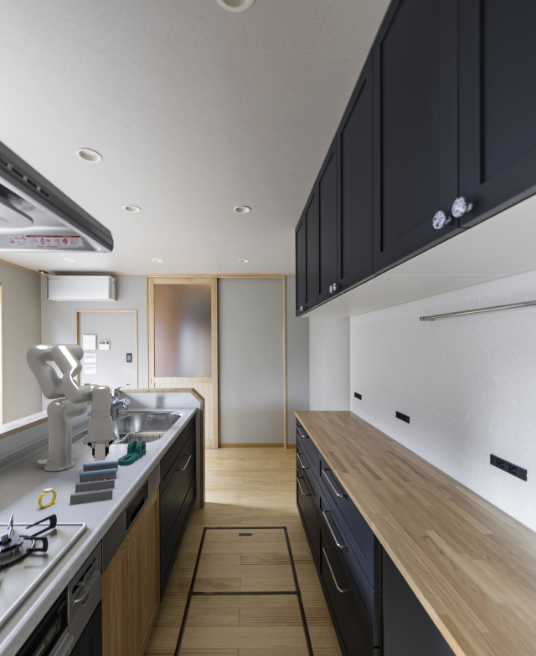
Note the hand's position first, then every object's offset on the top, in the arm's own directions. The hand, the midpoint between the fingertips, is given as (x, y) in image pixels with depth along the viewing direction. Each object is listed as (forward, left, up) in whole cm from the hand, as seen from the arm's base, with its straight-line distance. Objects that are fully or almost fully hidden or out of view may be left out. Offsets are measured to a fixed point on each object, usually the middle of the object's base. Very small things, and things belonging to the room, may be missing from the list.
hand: (100, 456), depth 158 cm
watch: (-15, -25, -9) cm, 31 cm away
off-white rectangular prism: (0, 0, -1) cm, 1 cm away
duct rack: (0, -10, -8) cm, 13 cm away
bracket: (+12, +18, -9) cm, 24 cm away
